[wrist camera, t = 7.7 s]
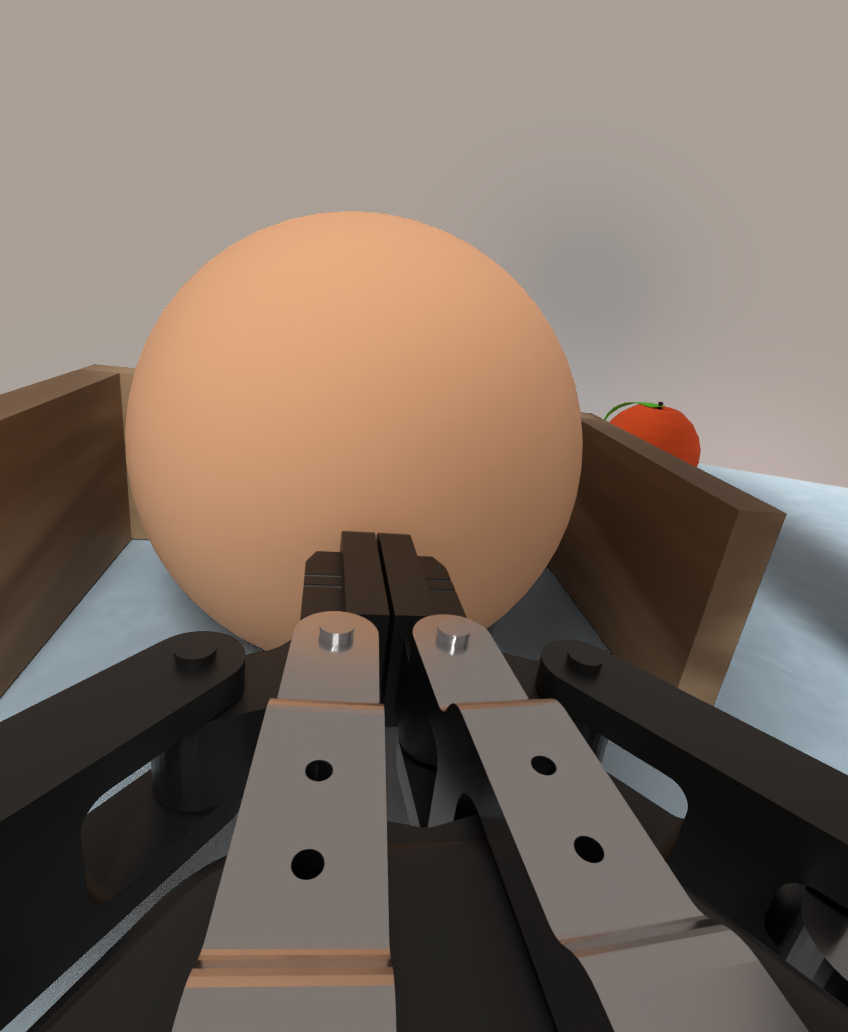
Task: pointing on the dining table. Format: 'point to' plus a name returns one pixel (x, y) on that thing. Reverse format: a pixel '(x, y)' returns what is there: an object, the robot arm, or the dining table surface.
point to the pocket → (576, 563)
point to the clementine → (660, 429)
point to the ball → (350, 418)
